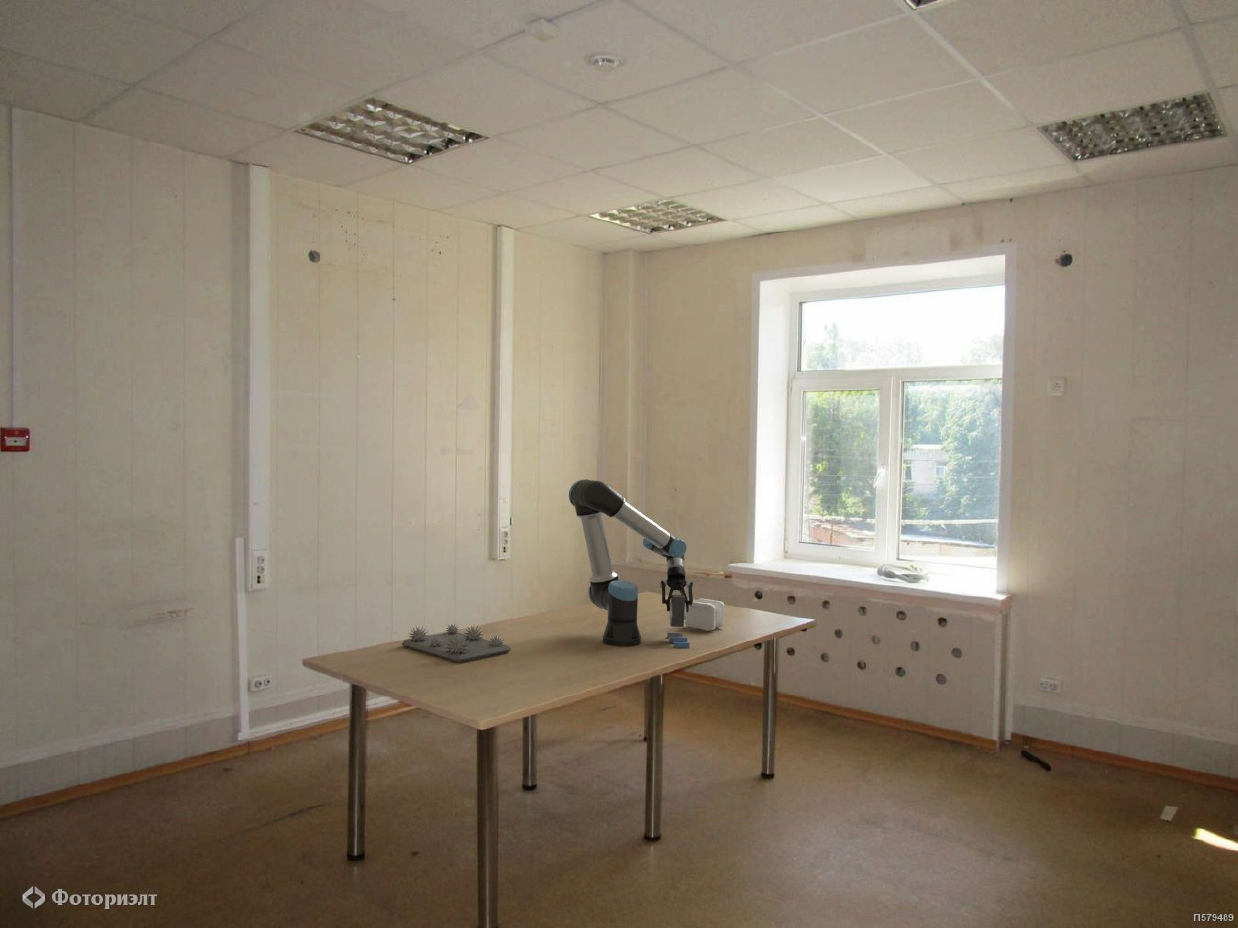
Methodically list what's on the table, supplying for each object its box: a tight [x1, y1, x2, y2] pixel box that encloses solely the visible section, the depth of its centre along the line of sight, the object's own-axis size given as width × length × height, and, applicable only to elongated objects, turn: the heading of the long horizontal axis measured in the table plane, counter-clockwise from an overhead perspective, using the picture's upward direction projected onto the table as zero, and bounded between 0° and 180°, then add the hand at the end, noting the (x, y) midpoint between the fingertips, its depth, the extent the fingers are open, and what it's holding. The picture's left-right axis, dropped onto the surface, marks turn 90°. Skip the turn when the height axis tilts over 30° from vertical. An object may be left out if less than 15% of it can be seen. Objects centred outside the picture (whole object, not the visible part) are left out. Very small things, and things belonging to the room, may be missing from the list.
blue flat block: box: [671, 637, 691, 649], centre depth 325 cm, size 6×9×2 cm
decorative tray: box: [401, 623, 512, 664], centre depth 307 cm, size 35×26×10 cm
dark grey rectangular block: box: [669, 594, 685, 628], centre depth 334 cm, size 5×5×12 cm
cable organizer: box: [684, 598, 726, 632], centre depth 358 cm, size 15×11×12 cm
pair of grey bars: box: [666, 631, 685, 643], centre depth 334 cm, size 6×9×2 cm
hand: (678, 617), depth 330 cm, fingers closed on dark grey rectangular block, 5 cm apart
